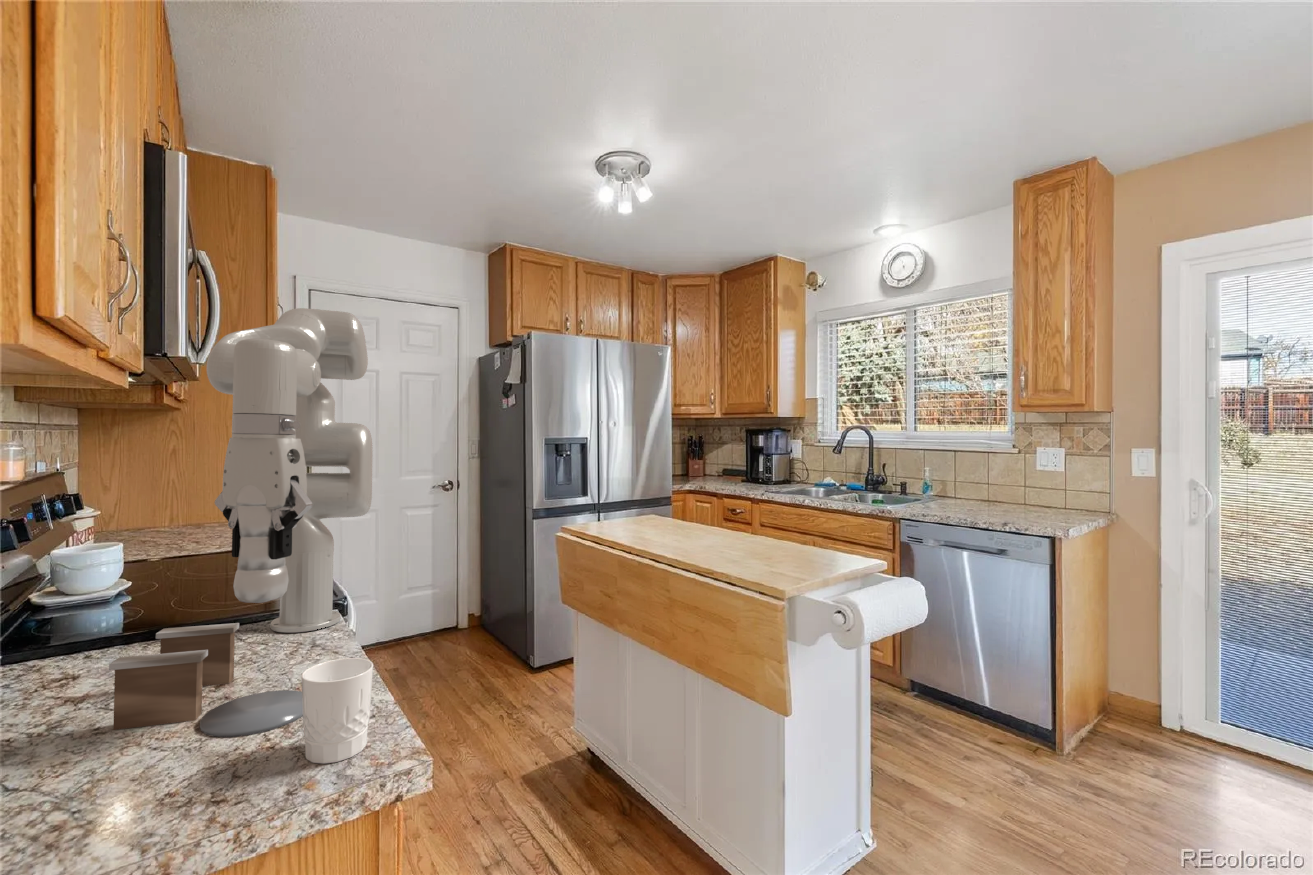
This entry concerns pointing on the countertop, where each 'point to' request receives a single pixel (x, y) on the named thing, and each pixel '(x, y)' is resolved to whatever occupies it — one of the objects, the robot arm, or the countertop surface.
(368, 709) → the white cup
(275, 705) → the coaster
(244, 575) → the grey bulging hollow cylinder
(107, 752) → the countertop surface
